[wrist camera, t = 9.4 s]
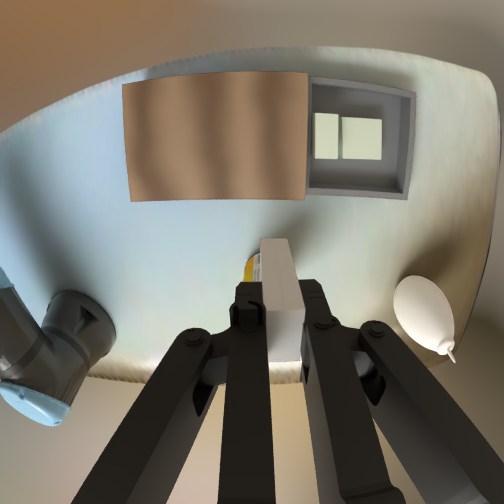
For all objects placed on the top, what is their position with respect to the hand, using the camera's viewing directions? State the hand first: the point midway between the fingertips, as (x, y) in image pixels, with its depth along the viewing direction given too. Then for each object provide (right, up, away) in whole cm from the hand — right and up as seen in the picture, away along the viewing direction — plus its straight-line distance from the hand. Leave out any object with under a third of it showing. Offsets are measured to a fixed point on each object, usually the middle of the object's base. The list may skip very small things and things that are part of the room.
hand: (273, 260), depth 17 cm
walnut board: (-5, +15, +18) cm, 24 cm away
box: (+12, +15, +17) cm, 26 cm away
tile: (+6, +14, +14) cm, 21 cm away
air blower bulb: (+24, -5, +27) cm, 36 cm away
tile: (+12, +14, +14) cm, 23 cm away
